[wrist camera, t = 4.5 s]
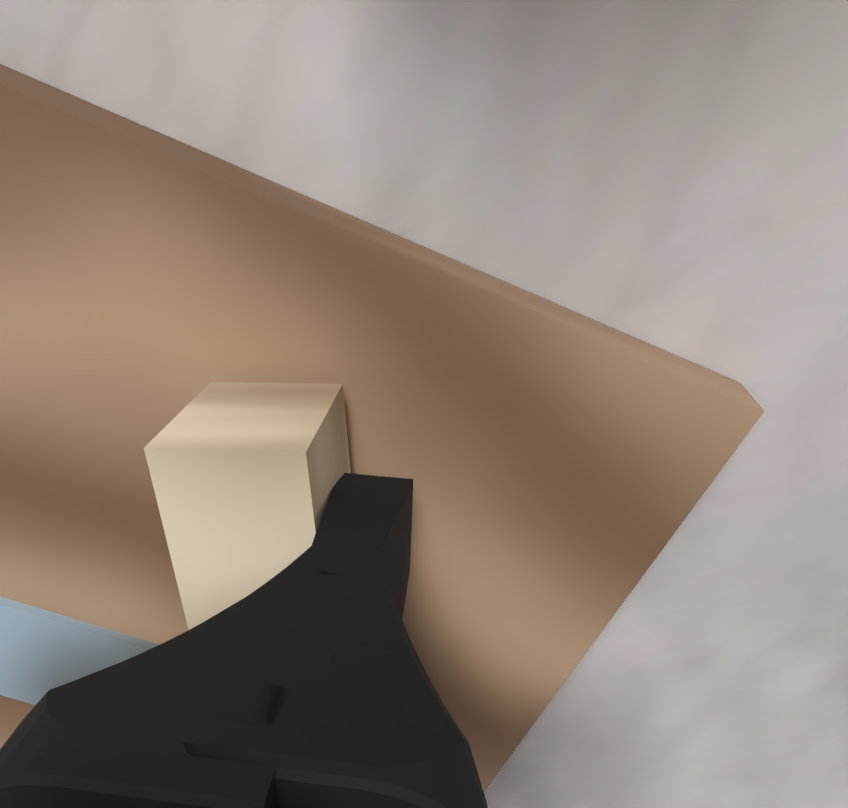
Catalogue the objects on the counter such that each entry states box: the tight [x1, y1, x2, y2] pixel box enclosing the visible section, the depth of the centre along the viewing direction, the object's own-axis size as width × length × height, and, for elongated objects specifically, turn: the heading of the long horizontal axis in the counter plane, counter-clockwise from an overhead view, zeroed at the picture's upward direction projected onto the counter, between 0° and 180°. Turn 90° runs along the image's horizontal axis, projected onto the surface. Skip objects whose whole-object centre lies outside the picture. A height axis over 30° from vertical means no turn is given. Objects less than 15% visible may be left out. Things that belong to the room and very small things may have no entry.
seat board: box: [0, 64, 764, 792], centre depth 15 cm, size 17×15×2 cm
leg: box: [144, 382, 351, 630], centre depth 12 cm, size 11×2×3 cm, turn 2°
